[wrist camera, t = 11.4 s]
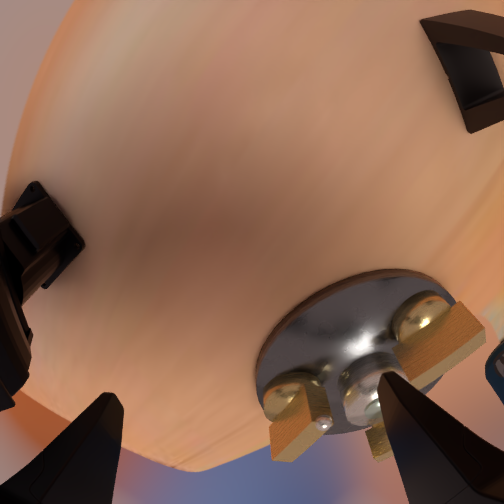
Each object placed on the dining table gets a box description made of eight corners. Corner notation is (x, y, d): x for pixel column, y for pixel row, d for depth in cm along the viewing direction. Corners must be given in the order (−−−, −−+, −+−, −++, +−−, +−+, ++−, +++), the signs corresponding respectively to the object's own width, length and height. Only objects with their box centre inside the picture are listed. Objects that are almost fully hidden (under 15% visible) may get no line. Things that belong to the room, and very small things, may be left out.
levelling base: (317, 441, 31) (326, 488, 24) (207, 354, 23) (199, 424, 17) (463, 359, 26) (491, 401, 20) (426, 219, 19) (485, 261, 13)
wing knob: (300, 414, 25) (309, 468, 19) (250, 406, 24) (253, 464, 19) (339, 367, 22) (359, 426, 17) (285, 355, 21) (295, 421, 16)
